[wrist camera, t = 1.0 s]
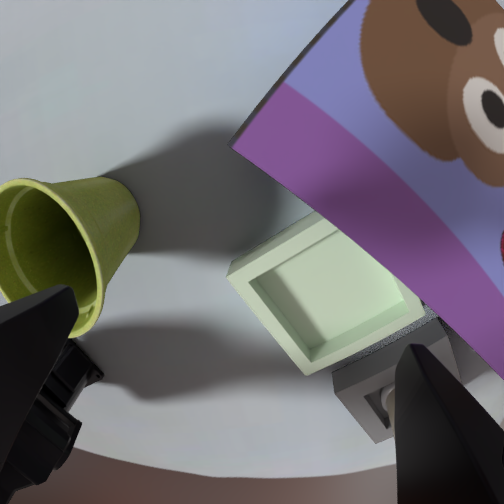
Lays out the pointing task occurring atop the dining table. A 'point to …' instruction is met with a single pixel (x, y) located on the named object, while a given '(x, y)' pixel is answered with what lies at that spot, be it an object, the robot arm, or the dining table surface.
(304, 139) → the cereal box
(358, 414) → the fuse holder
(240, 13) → the dining table surface
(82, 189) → the plant pot
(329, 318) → the parts tray
